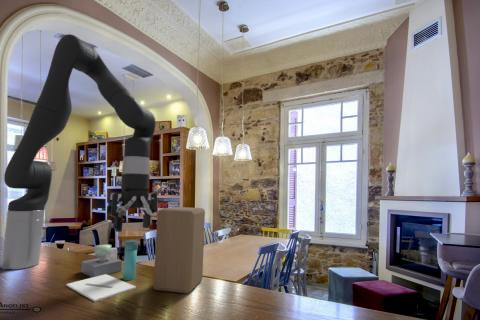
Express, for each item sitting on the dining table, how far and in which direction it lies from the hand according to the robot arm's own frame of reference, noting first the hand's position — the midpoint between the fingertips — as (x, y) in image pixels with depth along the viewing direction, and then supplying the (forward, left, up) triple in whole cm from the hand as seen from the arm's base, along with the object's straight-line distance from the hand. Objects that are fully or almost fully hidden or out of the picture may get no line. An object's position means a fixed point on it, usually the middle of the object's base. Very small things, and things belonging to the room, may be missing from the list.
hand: (132, 229), depth 73 cm
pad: (0, -8, -13) cm, 16 cm away
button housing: (-12, -2, -13) cm, 18 cm away
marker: (0, 0, -13) cm, 13 cm away
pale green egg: (-12, -2, -11) cm, 17 cm away
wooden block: (+15, +5, -14) cm, 21 cm away
